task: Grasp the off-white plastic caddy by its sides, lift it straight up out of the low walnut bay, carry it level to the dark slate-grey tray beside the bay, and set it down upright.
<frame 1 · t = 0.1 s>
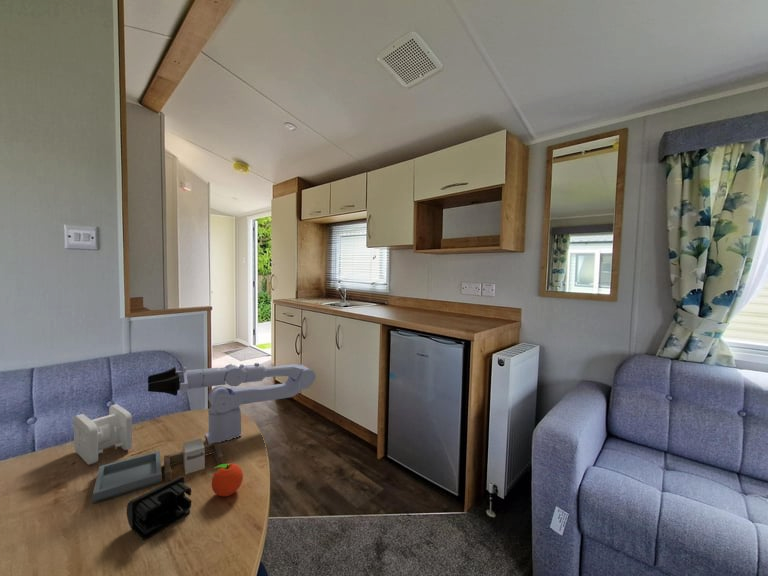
hand: (147, 383, 91), 22 cm above the table, tool horizontal, fingers open, 7 cm apart
slate tray: (130, 478, 82), on the table
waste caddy: (193, 466, 88), on the table
cable organizer: (103, 453, 94), on the table
walnut bay: (193, 465, 88), on the table
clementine: (225, 493, 77), on the table
end cap: (161, 520, 69), on the table
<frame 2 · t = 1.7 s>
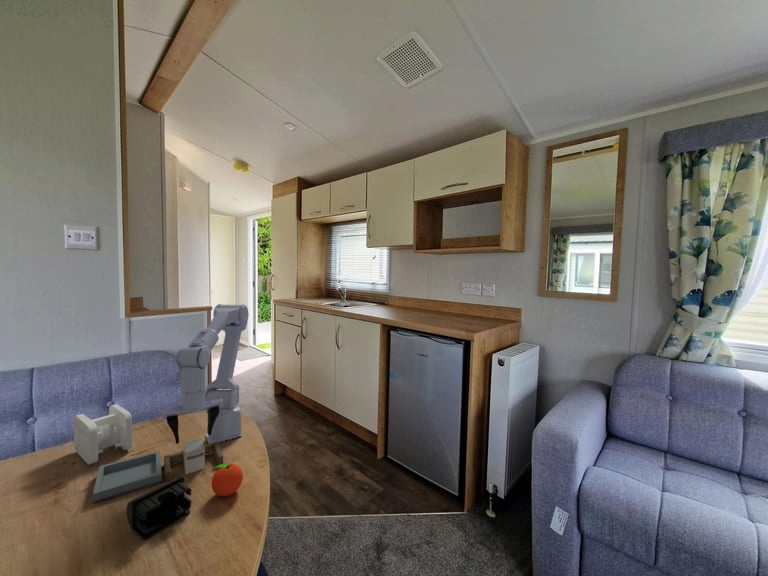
hand: (193, 437, 88), 8 cm above the table, tool pointing down, fingers open, 7 cm apart
nothing on the table moved.
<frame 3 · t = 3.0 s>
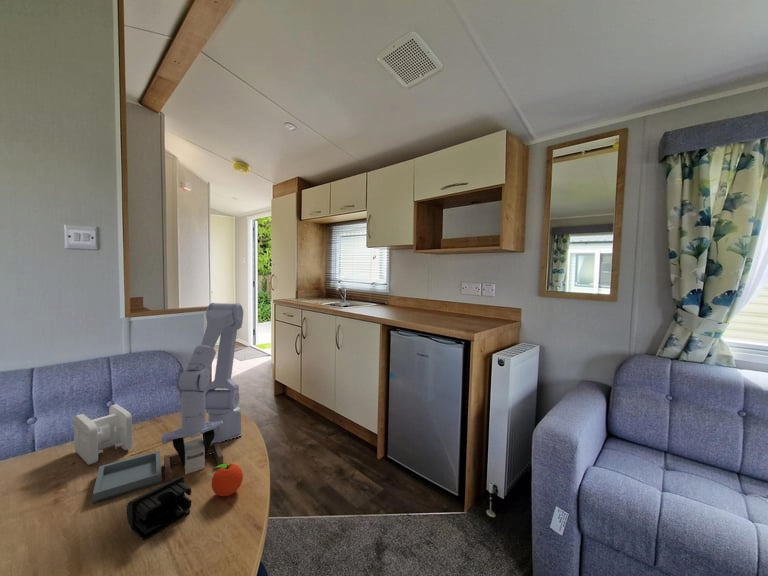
hand: (193, 460, 88), 1 cm above the table, tool pointing down, fingers closed on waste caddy, 4 cm apart
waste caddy: (194, 465, 88), on the table, touching gripper
everything else where it was.
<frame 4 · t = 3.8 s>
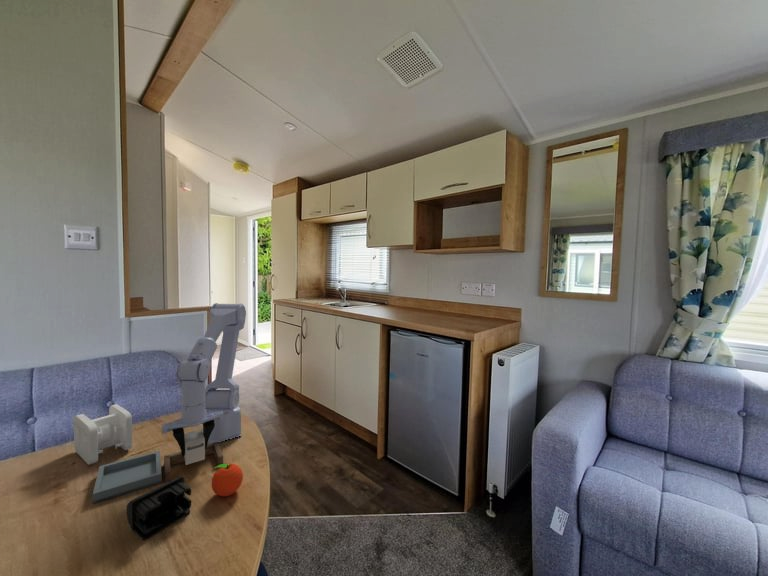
hand: (194, 450, 88), 4 cm above the table, tool pointing down, fingers closed on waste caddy, 4 cm apart
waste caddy: (194, 456, 88), point 3 cm above the table, touching gripper
everything else where it was.
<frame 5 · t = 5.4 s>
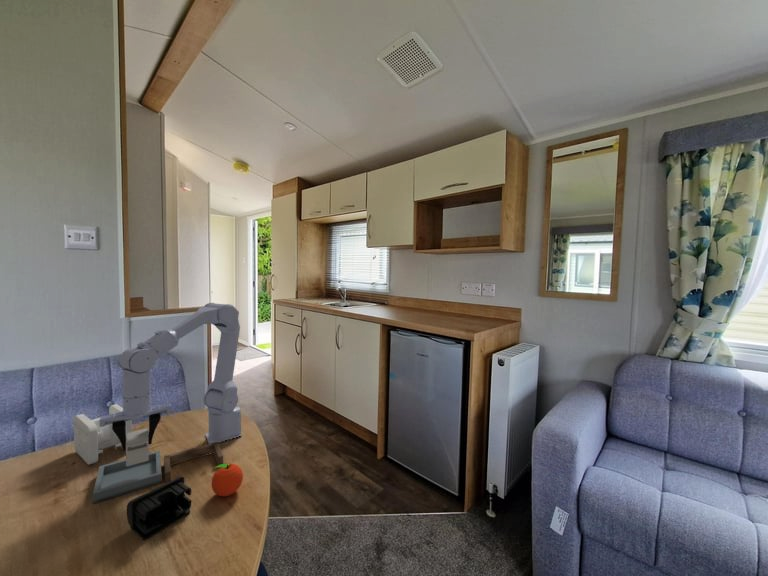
hand: (137, 445, 82), 8 cm above the table, tool pointing down, fingers closed on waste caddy, 4 cm apart
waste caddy: (137, 457, 82), point 5 cm above the table, touching gripper
everything else where it was.
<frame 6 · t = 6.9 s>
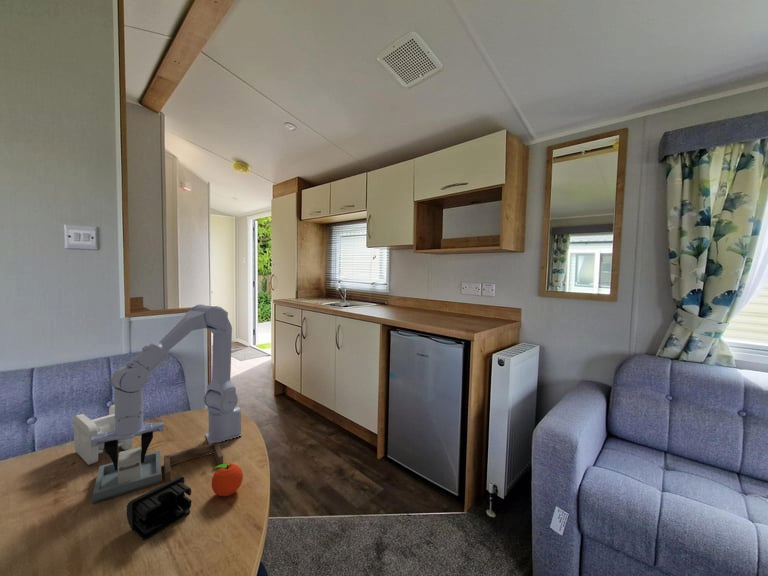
hand: (129, 464, 82), 4 cm above the table, tool pointing down, fingers closed on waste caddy, 4 cm apart
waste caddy: (130, 477, 82), point 1 cm above the table, touching gripper, slate tray
everything else where it was.
when the fingers open (4 cm above the table, at t = 7.0 s): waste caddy stays where it is, resting on slate tray.
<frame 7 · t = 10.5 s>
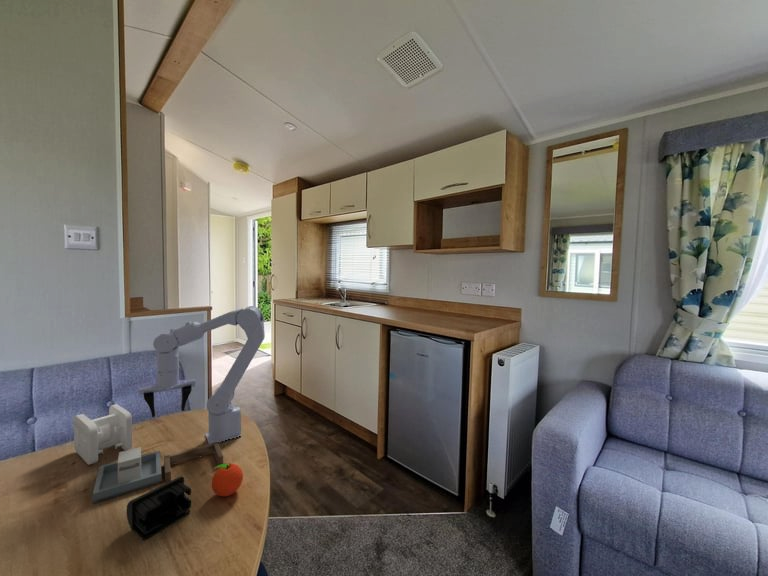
hand: (168, 412, 100), 9 cm above the table, tool pointing down, fingers open, 7 cm apart
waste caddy: (130, 477, 82), point 1 cm above the table, touching slate tray
everything else where it was.
at the end: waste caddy inside the target area on the slate tray (0.4 cm from its centre), point 0.6 cm above the slate tray's base; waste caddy tilted 0°; the gripper is holding nothing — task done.
